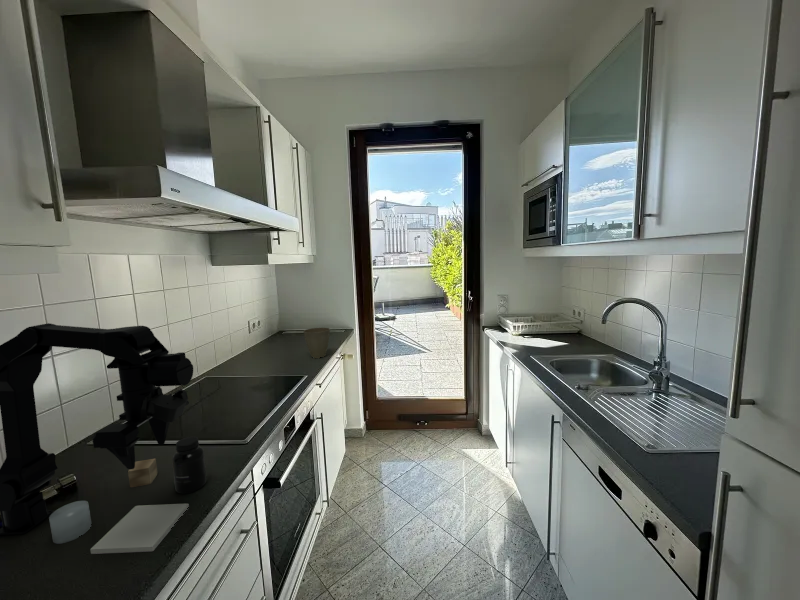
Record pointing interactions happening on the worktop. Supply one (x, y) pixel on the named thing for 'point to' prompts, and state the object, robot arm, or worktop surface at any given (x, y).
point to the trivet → (140, 529)
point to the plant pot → (317, 341)
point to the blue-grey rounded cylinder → (70, 521)
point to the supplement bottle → (189, 465)
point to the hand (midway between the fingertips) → (147, 456)
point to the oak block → (143, 473)
